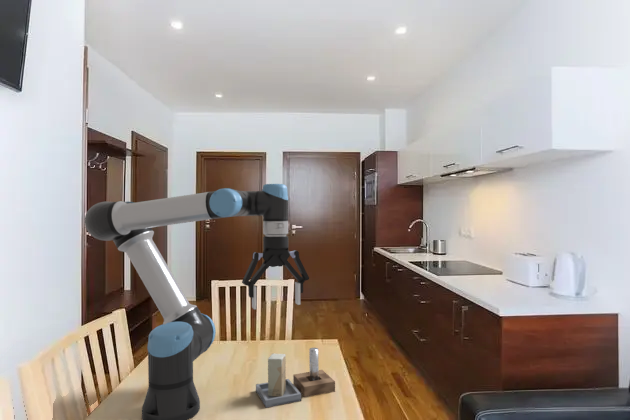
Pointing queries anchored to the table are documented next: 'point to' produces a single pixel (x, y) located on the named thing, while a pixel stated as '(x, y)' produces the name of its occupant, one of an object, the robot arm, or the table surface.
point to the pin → (314, 364)
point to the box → (276, 375)
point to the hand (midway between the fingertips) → (276, 306)
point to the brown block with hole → (313, 384)
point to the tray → (269, 401)
